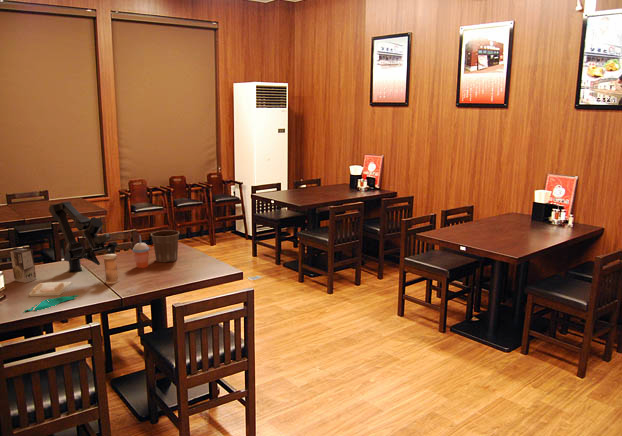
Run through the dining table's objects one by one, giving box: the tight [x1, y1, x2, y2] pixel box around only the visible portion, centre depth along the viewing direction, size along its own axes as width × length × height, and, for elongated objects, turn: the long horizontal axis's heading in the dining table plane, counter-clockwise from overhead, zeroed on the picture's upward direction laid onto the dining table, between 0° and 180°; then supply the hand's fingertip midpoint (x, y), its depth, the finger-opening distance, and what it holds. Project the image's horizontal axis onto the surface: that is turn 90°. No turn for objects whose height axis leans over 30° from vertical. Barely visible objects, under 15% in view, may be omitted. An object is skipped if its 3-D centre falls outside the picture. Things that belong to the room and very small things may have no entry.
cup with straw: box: [132, 235, 150, 269], centre depth 284 cm, size 9×9×18 cm
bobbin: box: [102, 253, 120, 285], centre depth 259 cm, size 6×6×14 cm
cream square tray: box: [28, 281, 73, 297], centre depth 249 cm, size 16×14×3 cm
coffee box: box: [9, 247, 37, 284], centre depth 263 cm, size 9×6×16 cm
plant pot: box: [150, 229, 180, 263], centre depth 297 cm, size 16×16×16 cm
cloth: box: [23, 294, 80, 314], centre depth 232 cm, size 26×14×2 cm, turn 133°
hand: (107, 262), depth 260 cm, fingers open, 9 cm apart
